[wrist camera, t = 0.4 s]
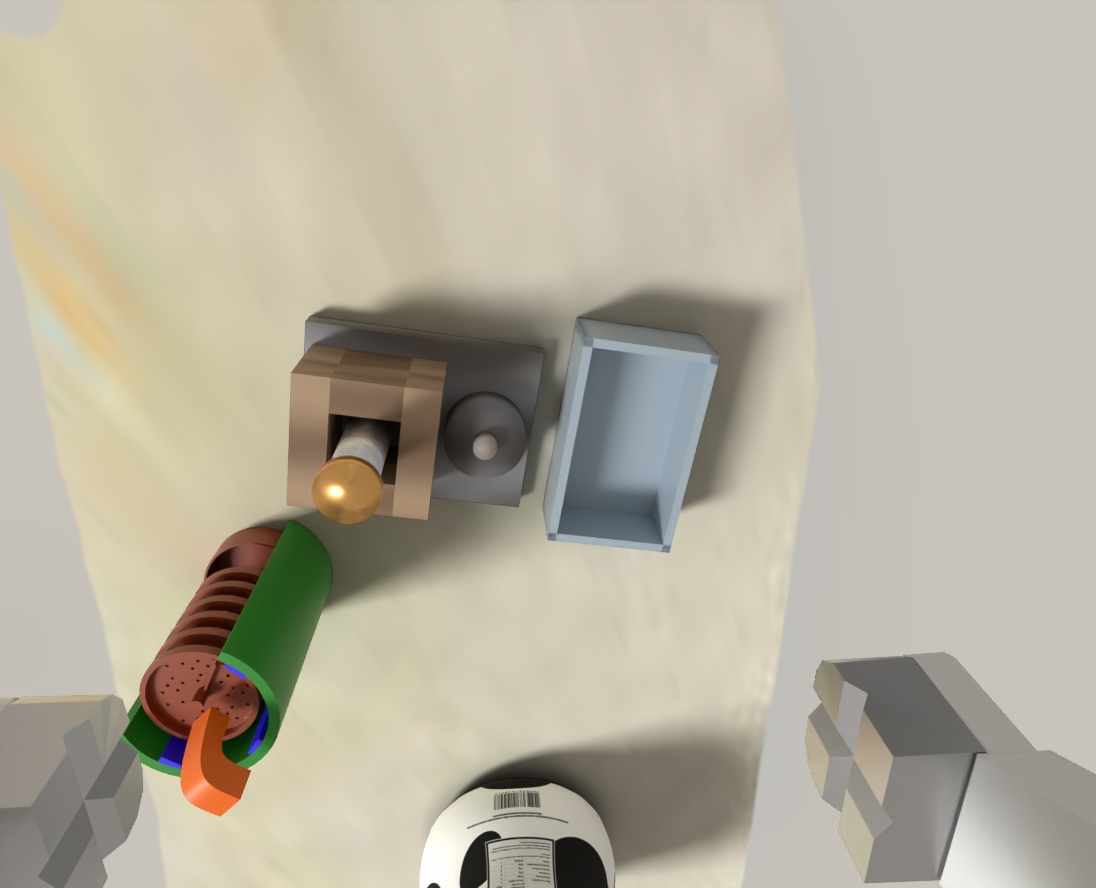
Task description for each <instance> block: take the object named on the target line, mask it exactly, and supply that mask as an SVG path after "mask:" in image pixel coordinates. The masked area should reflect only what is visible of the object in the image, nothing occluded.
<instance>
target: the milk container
mask: <svg viewBox="0 0 1096 888" xmlns="http://www.w3.org/2000/svg"><path fill="white" fill-rule="evenodd" d="M420 888H615V864H614V857H613V852H612V848H611V844H610V841H609V838H608V835H607V833H606V830H605V827H604V825H603V823H602V821H601V819H600V817H599V815H598V814H597V812H596V811H595V810H594V809H593V808H592V806H591V805H589V804H588V803H587V802H586V800H585V799H584V798H583V797H581V796H580V795H579V794H577V793H576V792H574V791H572V790H570V789H568V788H566V787H564V786H562V785H559V784H557V783H554V782H549V781H544V780H537V779H529V778H516V779H507V780H499V781H494V782H490V783H487V784H484V785H482V786H479V787H477V788H474V789H472V790H470V791H468V792H466V793H464V794H463V795H461V796H460V797H458V798H457V799H456V800H455V801H453V802H452V803H451V804H450V805H448V806H447V807H446V808H445V809H444V810H443V812H442V813H441V815H440V816H439V817H438V819H437V820H436V822H435V823H434V825H433V827H432V829H431V831H430V833H429V836H428V839H427V842H426V845H425V849H424V853H423V857H422V862H421V871H420Z"/></svg>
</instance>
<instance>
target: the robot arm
mask: <svg viewBox="0 0 1096 888" xmlns="http://www.w3.org/2000/svg"><path fill="white" fill-rule="evenodd" d="M814 690H815V691H816V693H817V695H818V697H819V698H820V700H821V702H822V703H821V704H820V705H819V706H818V707H817V708H816V709H815V710H814V711H813V712H812V713H811V714H810V715H809V716H808V723H807V730H806V738H805V740H806V749H807V758H808V764H809V767H810V770H811V774H812V777H813V780H814V783H815V785H816V787H817V789H818V791H819V793H820V795H821V797H822V799H824V800H825V801H826V802H828V803H829V804H830V805H832V806H833V807H834V808H836V809H837V810H839V811H840V812H841V818H840V823H839V829H838V832H839V834H840V836H841V838H842V840H843V842H844V844H845V846H846V848H847V850H848V852H849V854H850V856H851V858H852V860H853V862H854V864H855V866H856V868H857V870H858V872H859V874H860V876H861V877H862V880H863V881H864V883H882V882H906V881H933V880H940V885H941V886H942V887H943V888H1096V774H1094V773H1092V772H1090V771H1088V770H1086V769H1085V768H1082V767H1081V766H1079V765H1077V764H1075V763H1073V762H1071V761H1070V760H1068V759H1066V758H1064V757H1062V756H1060V755H1058V754H1056V753H1054V752H1052V751H1050V750H1048V751H1037V750H1036V749H1035V748H1034V747H1033V746H1032V745H1031V744H1030V742H1029V741H1028V740H1027V739H1026V738H1025V737H1024V735H1023V734H1022V733H1021V732H1020V731H1019V730H1018V729H1017V728H1016V726H1015V725H1014V724H1013V723H1012V722H1011V721H1010V720H1009V718H1008V717H1007V716H1006V715H1005V714H1004V713H1003V712H1002V711H1001V709H1000V708H999V707H998V706H997V705H996V704H995V703H994V701H993V700H992V699H991V698H990V697H989V696H988V694H987V693H986V692H985V691H984V690H983V689H982V688H981V687H980V685H979V684H978V683H977V682H976V681H975V680H974V679H973V678H972V676H971V675H970V674H969V673H968V672H967V671H966V669H964V667H963V666H962V665H961V664H960V663H959V662H958V660H957V659H956V658H954V657H953V656H951V655H949V654H947V653H945V652H939V653H925V654H911V655H903V656H902V657H901V656H895V657H877V658H860V659H859V658H858V659H840V660H823V661H822V662H821V664H820V665H819V667H818V669H817V670H816V676H815V681H814ZM129 723H130V721H129V718H128V715H127V712H126V709H125V706H124V703H123V700H122V699H121V698H119V697H116V696H114V695H74V696H37V697H36V696H34V697H22V698H0V888H103V886H104V884H105V882H106V880H107V874H106V871H105V868H104V864H103V861H102V860H103V859H104V858H105V857H106V856H107V855H109V854H110V853H111V852H113V851H114V850H115V849H116V848H118V847H119V846H120V845H121V844H122V843H124V842H125V841H126V840H127V837H128V835H129V833H130V831H131V829H132V827H133V825H134V823H135V821H136V818H137V815H138V810H139V806H140V801H141V797H142V792H143V774H142V766H141V762H140V758H139V754H138V752H137V751H136V750H134V749H133V748H132V747H131V746H129V745H128V744H127V743H126V742H124V741H123V740H122V739H121V736H122V735H123V733H124V731H125V729H126V728H127V726H128V724H129Z"/></svg>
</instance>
